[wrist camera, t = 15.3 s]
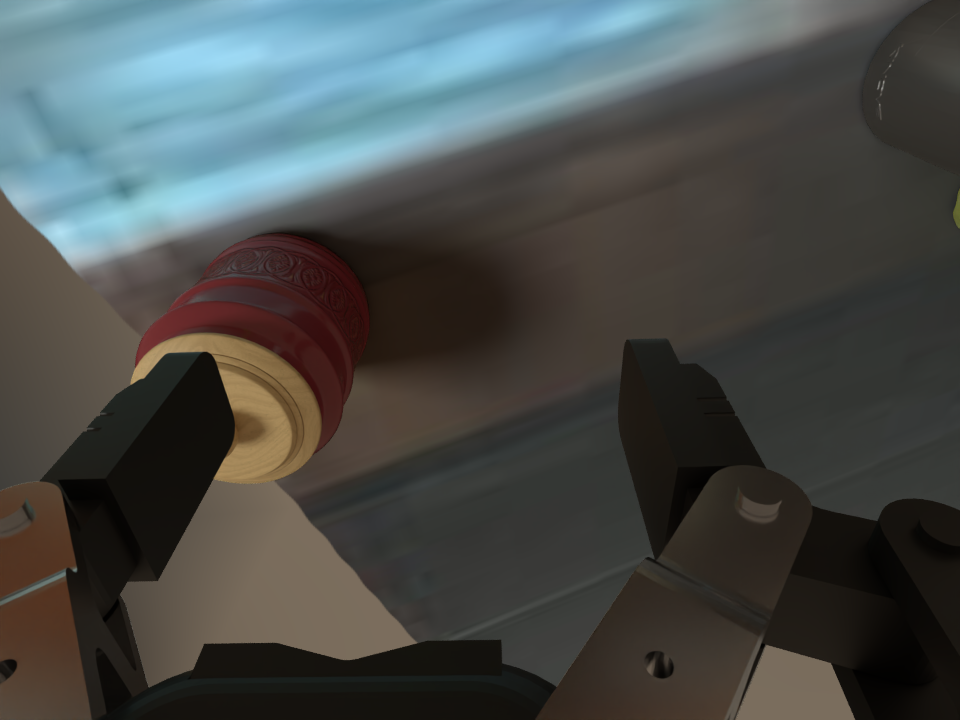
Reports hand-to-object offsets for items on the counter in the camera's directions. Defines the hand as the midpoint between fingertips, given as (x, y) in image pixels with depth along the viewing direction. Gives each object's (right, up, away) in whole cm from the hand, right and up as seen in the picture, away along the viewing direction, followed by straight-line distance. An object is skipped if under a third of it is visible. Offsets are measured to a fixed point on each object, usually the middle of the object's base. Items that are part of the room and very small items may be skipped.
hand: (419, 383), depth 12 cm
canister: (-14, +5, +37) cm, 40 cm away
